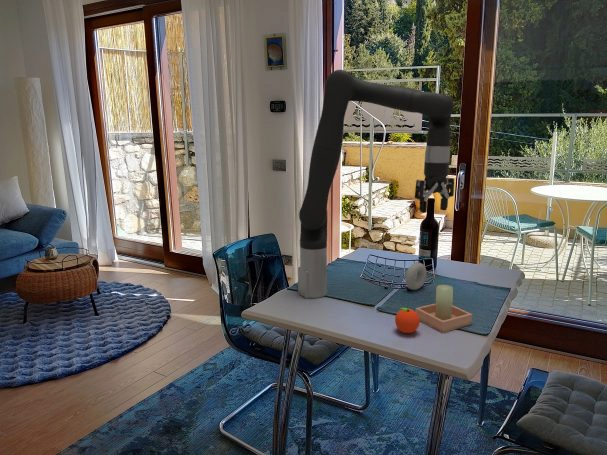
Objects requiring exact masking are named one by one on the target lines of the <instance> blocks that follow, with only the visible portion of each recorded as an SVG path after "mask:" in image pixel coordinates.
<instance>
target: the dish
mask: <svg viewBox="0 0 607 455" xmlns="http://www.w3.org/2000/svg"><path fill="white" fill-rule="evenodd" d="M435 307H436V302H435V303H432V304H428V305H424V306H423V305H422V306H419V307H415V310H414V311H415V312H416V313H417V314H418V316H419V319H420V322H421V323H423V324H425V325H427V326H429V327H430V328H432V329H434V330H436V331H437V332H440V333H441V334H444V333H446V332H447V333H448V332H451V331H454V330H457V329H461V328H465V327H468V326H471V325H472V322H473V314H472V313H470V312H468V311H466V310H463V309H462V308H460V307H457V306H455V305H453V304H452V318H451V319H447V320H444V321H443V320H441V319H439V318H437V317H435Z"/></svg>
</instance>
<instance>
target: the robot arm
mask: <svg viewBox="0 0 607 455" xmlns="http://www.w3.org/2000/svg"><path fill="white" fill-rule="evenodd" d="M349 102H359V103H360V102H361V103H368V104H374V105H378V106H381V107H386V108H390V109H393V110H398V111H402V112H406V113H413V114H415V113H416V114H419V115H420V114H421V115H425V116H427V117H428V129H427V134H426V147H425V148H426V149H425V152H424V163H423V164H424V165H423V166H424V167H423V175H424V179H423V180H421V179H416V183H415V190H414V199H417V200H418V201H419V208H418V209H419V211H420V213H422V214H426V213H427V210H428V201H427V200H429V198H430V196H432V194H436V193H438V194H439V195H440V197H441V198H440V206H439V208H440V211H447V209H448V205H449V199H450V198H451V197H454V195H455V178H452V177H448V176H449V173H450V172H449V171H450V156H451V149H450V146H451V137H452V136H451V135H452V134H451V133H452V132H451V128H450V127H451V117H452V112H453V110H454V106H455V105H454V101H453V99H452V98H451V97H450V96H449V95H447V94H443V93H439V92H431V91H423V90H419V89H417V88H413V87H412V88H411V87H408V86H407V87H406V86H400V85H393V84H385V83H384V84H383V83H377V82H376V83H375V82H370V81H367V80H364V79H361V78H359V77H355V76H354V75H352V74H351V73H350V72H348V71H346V70H345V69H336V70H333V71H332V72H331V73H330V74H329V75H328V76H327V77H326V80H325V82H324V91H323V102H322V110H321V114H320V115H321V116H320V118H319V119H320V120H319V122H318V125H317V130H316V134H315V138H314V141H313V145H312V151H311V154H310V156H311V157H310V161H309V162H310V163H309V169H308V179H307V180H308V181H307V187H306V192H305V194H304V197H303V202H302V204H301V207H300V209H299V213H298V218H299V221H300V232H299V233H300V236H299V266H298V267H297V293H298V294H299V295H301V296H302V297H304V298H305V299H318V298H324V297H325V296H326V295H327V291H328V290H327V289H328V287H327V284H328V283H327V282H328V281H327V280H328V277H327V274H328V270H327V269H328V268H327V267H328V266H327V265H328V262H327V261H328V258H327V257H328V253H327V252H328V201H329V195H330V191H331V186H332V184H333V182H334V179H335V175H336V172H337V169H338V166H339V162H340V159H341V153H342V149H343V140H344V127H345V126H344V123H345V118H346V117H345V116H346V112H347V110H348V106H349Z"/></svg>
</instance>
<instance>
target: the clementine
mask: <svg viewBox="0 0 607 455" xmlns="http://www.w3.org/2000/svg"><path fill="white" fill-rule="evenodd" d="M399 309H400V310H396V311H395V312H396V315H395V317H394V318H395V319H394V322H395V323H394V324H395V326H396V328H397V329H398V330H399V332H401V333H404V334H411V333H414V332H416V331H417V329H419V326H420V322H421V321H420V319H419V316H418V314H417V313H416V312H415V310H413V309H411V308H407V307H400V308H399Z"/></svg>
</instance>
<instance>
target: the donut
mask: <svg viewBox="0 0 607 455" xmlns="http://www.w3.org/2000/svg"><path fill="white" fill-rule="evenodd" d="M427 275H428V274H427V269H426V266H425V265H424V264H423V263H421V262H414V263H413V264H411V265H410V266H408V268H407V271H406V273H405V277H404V278H405V279H404V280H405V285H406V286H407V287H408V289H410V290H411V291H417V290H418V289H420V288H421V287H423V285H424V283H425V281H426V278H427Z"/></svg>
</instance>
